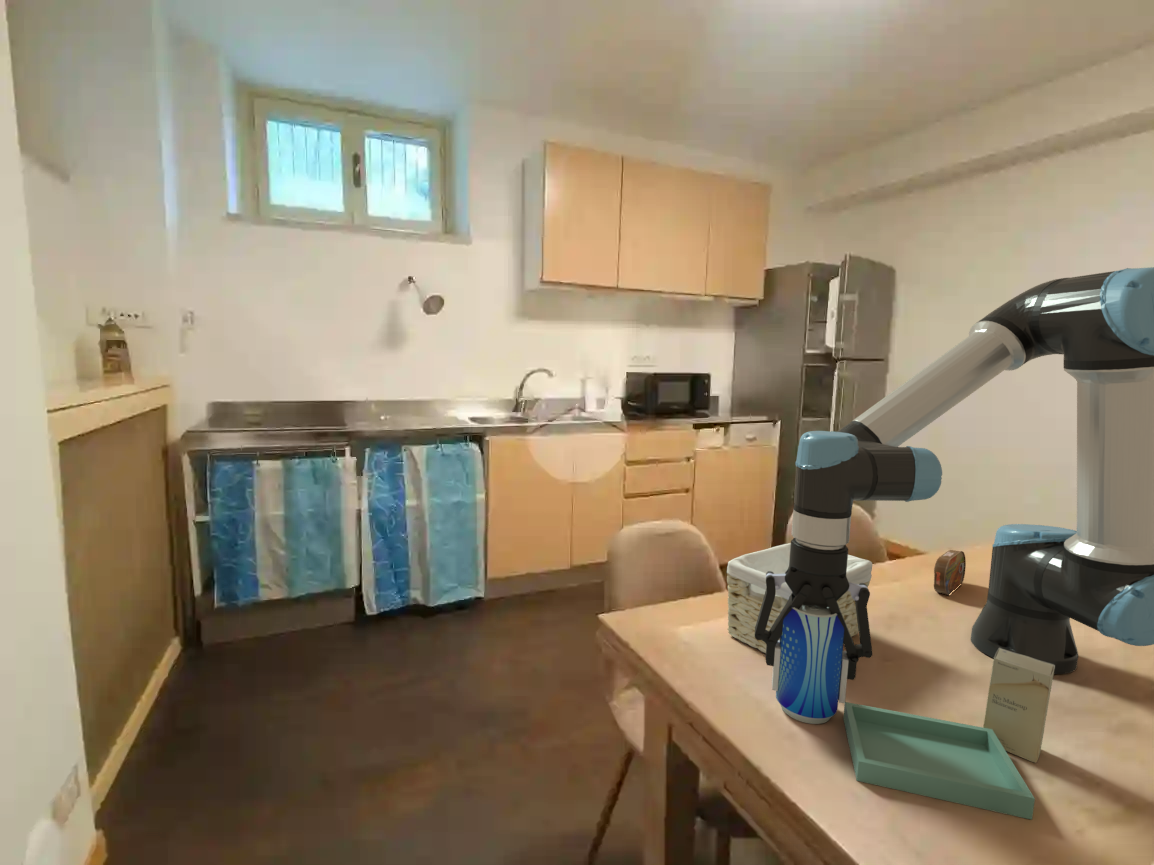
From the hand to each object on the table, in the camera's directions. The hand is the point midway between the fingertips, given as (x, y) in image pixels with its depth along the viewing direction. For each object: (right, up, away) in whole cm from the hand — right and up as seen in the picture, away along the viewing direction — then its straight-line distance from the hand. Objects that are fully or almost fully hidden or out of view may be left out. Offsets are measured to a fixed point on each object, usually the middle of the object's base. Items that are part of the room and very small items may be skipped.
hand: (807, 691), depth 85 cm
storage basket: (+7, 0, +23) cm, 24 cm away
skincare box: (+25, -5, -7) cm, 26 cm away
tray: (+11, -4, -10) cm, 16 cm away
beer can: (0, -3, 0) cm, 3 cm away
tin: (+51, +2, +48) cm, 70 cm away
